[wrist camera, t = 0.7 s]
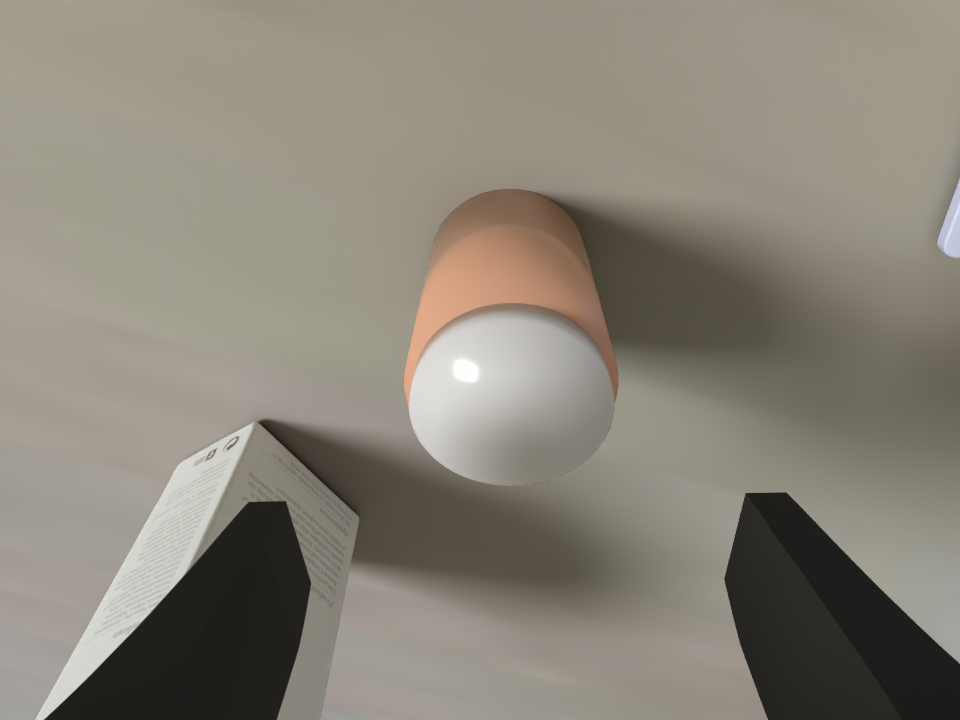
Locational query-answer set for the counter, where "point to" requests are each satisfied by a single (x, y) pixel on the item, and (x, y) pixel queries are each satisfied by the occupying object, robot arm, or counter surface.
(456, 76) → the counter surface
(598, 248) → the counter surface
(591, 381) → the salt shaker
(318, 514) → the skincare box
